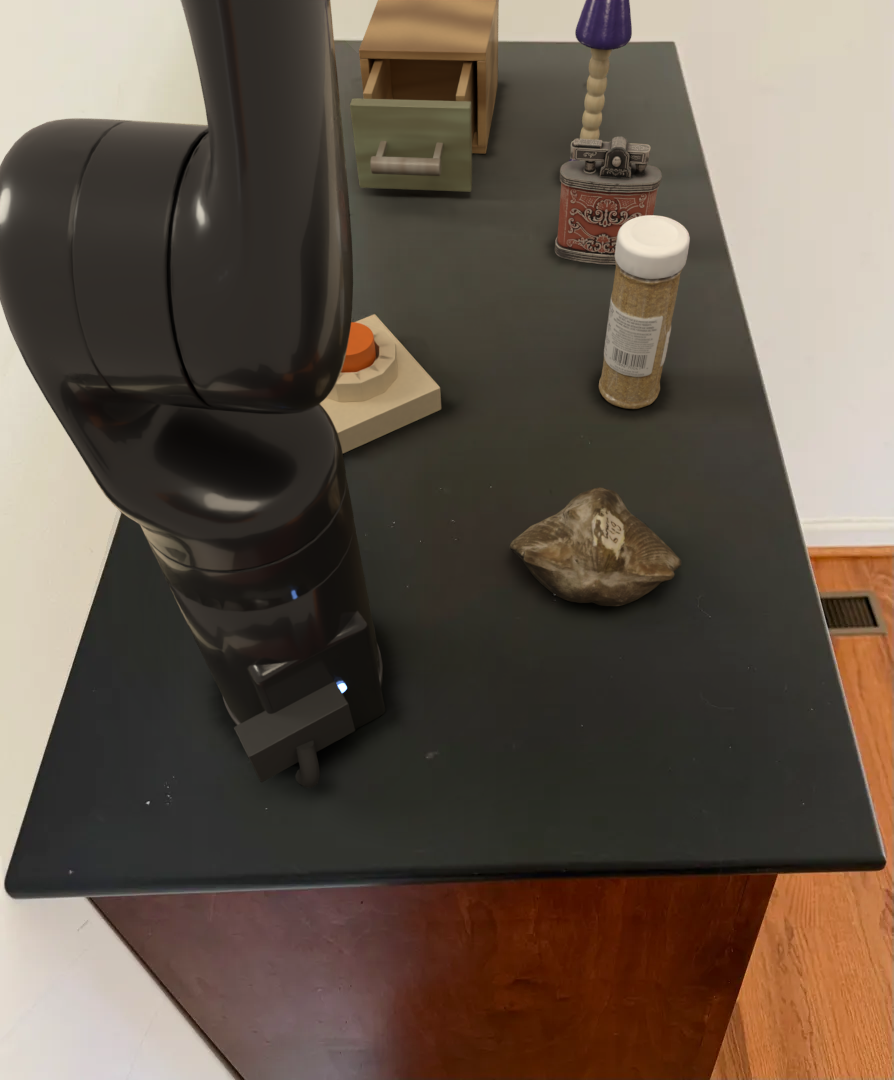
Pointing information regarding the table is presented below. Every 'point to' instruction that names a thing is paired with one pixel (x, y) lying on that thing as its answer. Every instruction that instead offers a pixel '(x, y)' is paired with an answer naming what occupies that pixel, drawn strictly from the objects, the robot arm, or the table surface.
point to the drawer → (416, 125)
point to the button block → (381, 392)
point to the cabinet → (439, 43)
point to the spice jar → (642, 308)
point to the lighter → (602, 196)
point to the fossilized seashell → (596, 552)
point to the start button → (359, 349)
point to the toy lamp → (600, 53)
